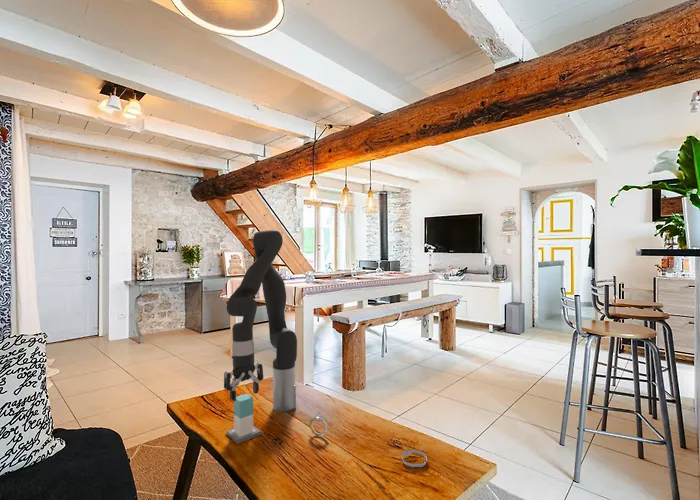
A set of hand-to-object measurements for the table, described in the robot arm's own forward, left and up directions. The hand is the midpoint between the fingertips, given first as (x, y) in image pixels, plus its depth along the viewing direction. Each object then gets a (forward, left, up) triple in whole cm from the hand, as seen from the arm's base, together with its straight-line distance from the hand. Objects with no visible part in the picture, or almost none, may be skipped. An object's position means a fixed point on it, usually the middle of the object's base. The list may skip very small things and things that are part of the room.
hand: (244, 396), depth 130 cm
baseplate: (+1, 0, -14) cm, 14 cm away
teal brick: (0, 0, -6) cm, 6 cm away
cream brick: (+1, 0, -12) cm, 12 cm away
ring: (-25, +9, -14) cm, 30 cm away
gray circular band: (-51, +32, -14) cm, 62 cm away
